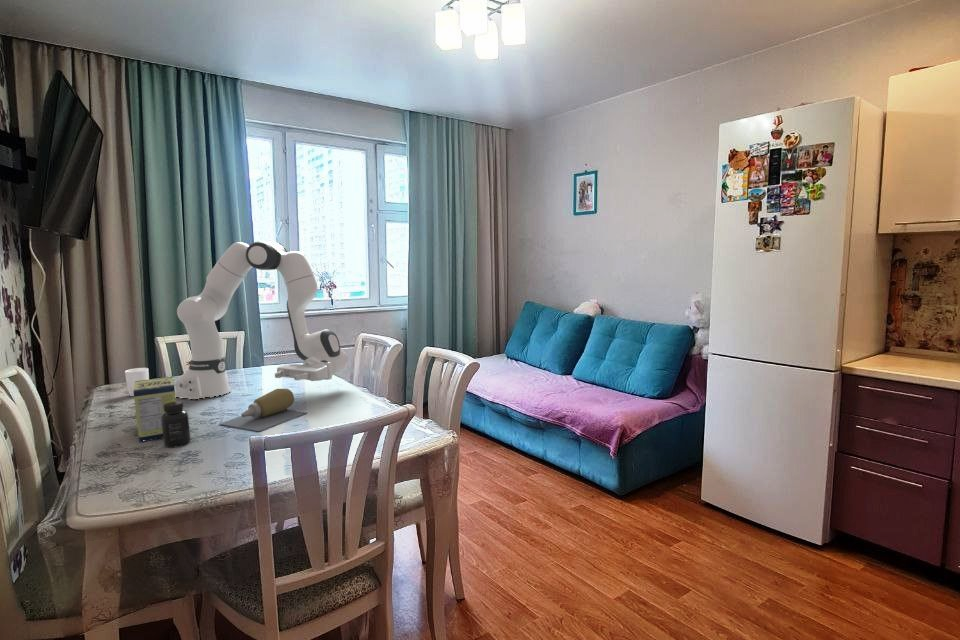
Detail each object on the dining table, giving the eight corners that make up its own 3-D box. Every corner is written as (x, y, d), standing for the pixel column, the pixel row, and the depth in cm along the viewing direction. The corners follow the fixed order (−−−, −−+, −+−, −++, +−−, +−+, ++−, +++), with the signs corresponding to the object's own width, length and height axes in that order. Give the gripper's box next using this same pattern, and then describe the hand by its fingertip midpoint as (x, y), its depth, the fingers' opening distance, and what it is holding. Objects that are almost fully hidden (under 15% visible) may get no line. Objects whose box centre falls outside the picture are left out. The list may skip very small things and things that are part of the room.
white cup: (154, 393, 210) (152, 368, 208) (133, 398, 203) (130, 373, 202) (144, 391, 214) (142, 367, 212) (123, 395, 207) (120, 370, 206)
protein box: (177, 422, 172) (173, 375, 170) (179, 435, 159) (174, 385, 157) (139, 428, 167) (134, 380, 165) (138, 443, 153) (132, 391, 151)
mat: (269, 407, 186) (268, 406, 186) (307, 413, 178) (307, 412, 178) (219, 424, 168) (218, 423, 168) (258, 432, 160) (258, 430, 160)
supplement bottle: (196, 439, 155) (192, 400, 153) (180, 448, 148) (176, 407, 147) (174, 439, 156) (170, 400, 154) (158, 447, 149) (153, 406, 147)
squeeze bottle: (284, 408, 185) (239, 427, 170) (278, 386, 184) (231, 404, 169) (299, 406, 181) (253, 426, 166) (292, 384, 180) (246, 402, 165)
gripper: (293, 358, 202) (264, 366, 190) (334, 362, 193) (306, 370, 181) (294, 374, 203) (265, 383, 191) (335, 379, 194) (307, 388, 182)
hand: (285, 376), depth 186 cm, fingers open, 8 cm apart
